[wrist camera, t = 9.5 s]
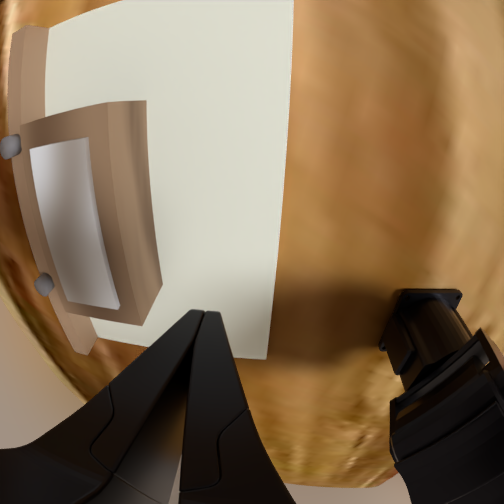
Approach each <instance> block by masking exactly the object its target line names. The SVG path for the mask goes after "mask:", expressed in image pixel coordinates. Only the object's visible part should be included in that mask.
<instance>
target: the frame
mask: <svg viewBox="0 0 504 504" xmlns="http://www.w3.org/2000/svg"><path fill="white" fill-rule="evenodd" d="M20 138H21V148H22V157H23V165H24V171H25V178H26V184H27V189H28V194H29V199H30V204H31V209H32V213H33V217H34V221H35V225H36V229H37V233H38V236H39V240H40V243H41V247H42V250H43V253H44V256H45V259H46V263H47V266H48V268H49V271H50V274H51V277H52V280H53V282H54V285H55V288H56V290H57V293H58V295H59V298H60V300H61V303H62V305H63V308H64V310H65V312H68V313H72V314H77V315H82V316H87V317H92V318H97V319H102V320H107V321H113V322H119V323H124V324H131V325H137V326H143V324H144V322H145V320H146V318H147V316H148V314H149V312H150V310H151V307H152V305H153V303H154V301H155V299H156V297H157V295H158V293H159V291H160V289H161V287H162V286H163V282H162V275H161V269H160V263H159V256H158V249H157V242H156V234H155V226H154V218H153V208H152V198H151V187H150V175H149V160H148V141H147V100H137V101H116V102H105V103H100V104H95V105H91V106H86V107H82V108H77V109H73V110H69V111H66V112H62V113H58V114H54V115H51V116H48V117H44V118H41V119H38V120H35V121H32V122H29V123H26V124H23V125H20Z"/></svg>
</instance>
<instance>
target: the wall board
mask: <svg viewBox="0 0 504 504" xmlns="http://www.w3.org/2000/svg"><path fill="white" fill-rule="evenodd" d="M293 6H294V0H123V1H119V2H116V3H113V4H109V5H106V6H103V7H100V8H97V9H94V10H92V11H89V12H86V13H84V14H81V15H78V16H76V17H74V18H71V19H69V20H66V21H64V22H62V23H60V24H57V25H55V26H53V27H51V28H45V27H38V26H30V25H26V26H24V27H23V28H21V29H19V30H18V31H16V32H15V33H13V35H12V42H11V50H10V59H9V72H8V126H9V136H7V137H4V138H3V139H2V141H1V143H0V153H1V156H2V157H3V158H4V159H9V158H12V166H13V173H14V179H15V185H16V190H17V195H18V200H19V205H20V209H21V213H22V217H23V221H24V225H25V229H26V233H27V236H28V240H29V243H30V246H31V250H32V253H33V256H34V259H35V262H36V265H37V268H38V270H39V273H40V276H39V277H38V278H37V280H36V281H35V282H34V285H35V288H36V290H37V291H38V292H39V293H40V294H41V295H42V296H47V295H48V296H49V299H50V301H51V303H52V306H53V308H54V310H55V313H56V315H57V317H58V319H59V321H60V323H61V325H62V328H63V330H64V332H65V334H66V336H67V338H68V340H69V341H70V343H71V345H72V347H73V349H74V351H75V352H77V353H81V354H84V355H88V354H89V352H90V350H91V348H92V347H93V345H94V343H95V341H96V340H97V338H98V337H100V338H104V339H109V340H114V341H119V342H124V343H129V344H135V345H140V346H146V347H149V346H151V345H152V344H153V343H154V342H155V341H156V340H157V339H158V338H159V337H160V336H161V335H163V334H164V333H165V332H166V331H167V330H168V329H169V328H170V327H171V326H172V325H174V324H175V323H176V322H177V321H178V320H179V319H180V318H181V317H182V316H183V315H184V314H186V313H187V312H188V311H189V310H191V309H198V310H204V311H205V312H206V311H208V310H209V311H219V312H220V313H221V315H222V319H223V323H224V326H225V330H226V333H227V337H228V340H229V344H230V347H231V351H232V354H233V357H235V358H249V359H266V356H267V348H268V340H269V331H270V322H271V314H272V304H273V295H274V286H275V276H276V266H277V256H278V245H279V235H280V224H281V212H282V200H283V188H284V176H285V162H286V148H287V134H288V118H289V101H290V83H291V63H292V38H293ZM137 100H147V141H148V160H149V175H150V187H151V198H152V208H153V218H154V226H155V234H156V242H157V249H158V256H159V263H160V269H161V275H162V282H163V286H162V287H161V289H160V291H159V293H158V295H157V297H156V299H155V301H154V303H153V305H152V307H151V310H150V312H149V314H148V316H147V318H146V320H145V322H144V324H143V326H137V325H131V324H124V323H119V322H113V321H107V320H102V319H97V318H92V317H87V316H82V315H77V314H72V313H68V312H65V310H64V308H63V305H62V303H61V300H60V298H59V295H58V293H57V290H56V288H55V285H54V282H53V280H52V277H51V274H50V271H49V268H48V266H47V263H46V259H45V256H44V253H43V250H42V247H41V243H40V240H39V236H38V233H37V229H36V225H35V221H34V217H33V213H32V209H31V204H30V199H29V194H28V189H27V184H26V178H25V171H24V165H23V157H22V148H21V138H20V125H23V124H26V123H29V122H32V121H35V120H38V119H41V118H44V117H48V116H51V115H54V114H58V113H62V112H66V111H69V110H73V109H77V108H82V107H86V106H91V105H95V104H100V103H105V102H116V101H137Z"/></svg>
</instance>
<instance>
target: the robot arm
mask: <svg viewBox="0 0 504 504" xmlns="http://www.w3.org/2000/svg"><path fill="white" fill-rule="evenodd" d="M406 296H407V297H406ZM405 297H406V298H405ZM461 298H462V293H461V292H460V290H405V291H403V292H402V293H401V295H400V297H399V300H398V302H397V305H396V307H395V310H394V312H393V314H392V316H391V318H390V320H389V322H388V325H387V327H386V329H385V331H384V334H383V336H382V339H381V341H380V343H379V349H380V351H387V353H388V356H389V359H390V362H391V365H392V368H393V371H394V373H395V374H396V375H400V378H401V380H402V383H403V386H404V389H405V393H403V394H402V395H400V396H399V397H395V398H394V399H392V400H391V401H390V442H389V443H390V453H391V455H392V458H393V460H394V462H395V464H394V467H395V468H396V470H397V471H398V472H399V473H400V475H401V476H402V478H403V480H404V482H405V483H406V486H407V489H408V492H409V495H410V499H411V503H412V504H504V357H503V355H502V353H501V352H500V350H499V348H498V347H497V345H496V344H495V343H494V342H493V341H492V340H491V338H490V337H489V336H488V335H487V334H486V333H485V332H484V331H483V330H482V329H481V327H480V328H479V329H478V330H477V331H476V332H475V335H474V336H473V335H472V334H471V332H470V331H469V329H468V327H467V326H466V324H465V323H464V321H463V319H462V318H461V316H460V315H459V313H458V312H457V310H456V308H457V306H458V304H459V302H460V300H461ZM489 361H490V362H489ZM488 362H489V363H488ZM487 363H488V364H487ZM486 364H487V365H486ZM485 365H486V366H485ZM181 454H182V456H181ZM180 458H181V468H180V483H179V491H180V493H179V500H178V504H296V503H295V501H294V500H293V498H292V496H291V495H290V493H289V491H288V490H287V488H286V486H285V485H284V483H283V481H282V479H281V478H280V476H279V474H278V472H277V471H276V469H275V467H274V465H273V464H272V462H271V460H270V458H269V456H268V454H267V452H266V450H265V448H264V446H263V444H262V442H261V439H260V437H259V434H258V432H257V429H256V426H255V424H254V421H253V418H252V415H251V412H250V410H249V406H248V403H247V400H246V397H245V394H244V390H243V387H242V384H241V381H240V377H239V374H238V371H237V368H236V364H235V361H234V357H233V354H232V351H231V347H230V344H229V340H228V337H227V333H226V330H225V326H224V323H223V319H222V315H221V313H220V312H219V311H209V310H208V311H206V312H205V311H204V310H198V309H191V310H189V311H188V312H187V313H186V314H184V315H183V316H182V317H181V318H180V319H179V320H178V321H177V322H176V323H175V324H174V325H172V326H171V327H170V328H169V329H168V330H167V331H166V332H165V333H164V334H163V335H161V336H160V337H159V338H158V339H157V340H156V341H155V342H154V343H153V344H152V345H151V346H149V347H148V348H147V349H146V350H145V351H144V352H143V353H142V354H141V355H140V356H138V357H137V358H136V359H135V360H134V361H133V362H132V363H131V364H130V365H129V366H128V367H126V368H125V369H124V370H123V371H122V372H121V373H120V374H119V375H118V376H117V377H115V378H114V379H113V380H112V381H111V382H110V383H109V386H105V387H104V388H103V389H102V390H101V391H100V392H99V393H98V394H97V395H95V396H94V397H93V398H92V399H91V400H90V401H88V402H87V403H86V404H85V405H84V406H83V407H81V408H80V409H79V410H77V411H76V412H75V413H73V414H72V415H71V416H69V417H68V418H66V419H65V420H64V421H62V422H61V423H59V424H58V425H57V426H55V427H54V428H52V429H51V430H49V431H48V432H46V433H45V434H44V435H42V436H41V437H39V438H38V439H36V440H34V441H33V442H31V443H29V444H27V445H24V446H21V447H17V448H9V449H0V504H169V500H170V496H171V492H172V488H173V485H174V481H175V477H176V473H177V469H178V466H179V462H180Z"/></svg>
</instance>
